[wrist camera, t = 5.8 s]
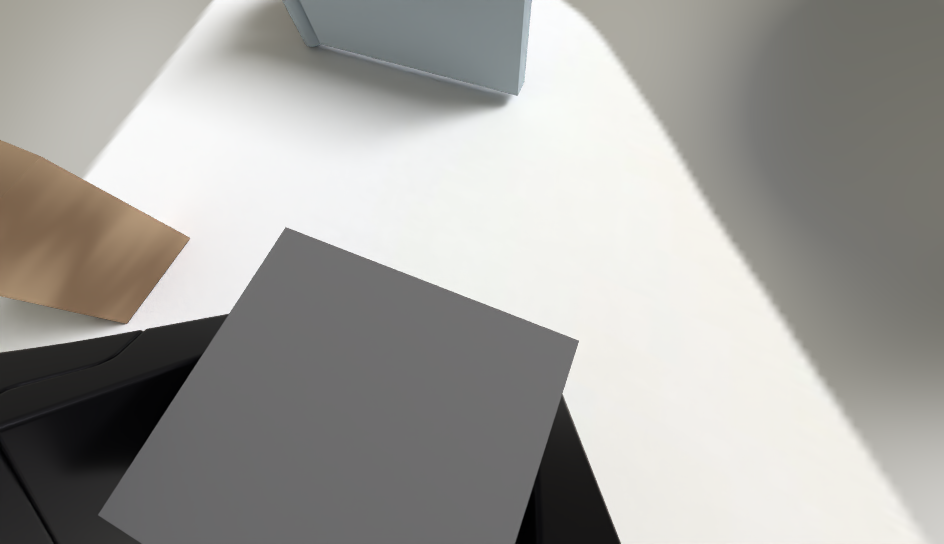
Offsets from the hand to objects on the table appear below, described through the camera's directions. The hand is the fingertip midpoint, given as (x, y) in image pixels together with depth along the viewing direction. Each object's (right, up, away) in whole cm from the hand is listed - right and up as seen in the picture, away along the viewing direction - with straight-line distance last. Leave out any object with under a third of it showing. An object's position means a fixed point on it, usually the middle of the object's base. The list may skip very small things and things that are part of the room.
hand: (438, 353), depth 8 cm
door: (-3, +14, +12) cm, 19 cm away
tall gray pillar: (0, -4, +6) cm, 7 cm away
